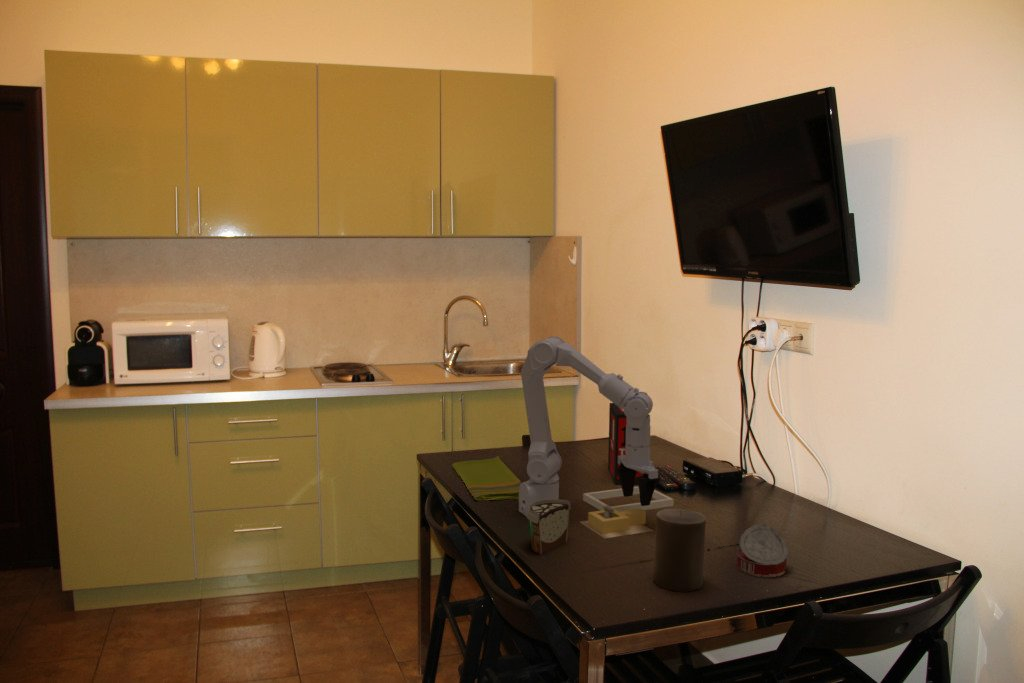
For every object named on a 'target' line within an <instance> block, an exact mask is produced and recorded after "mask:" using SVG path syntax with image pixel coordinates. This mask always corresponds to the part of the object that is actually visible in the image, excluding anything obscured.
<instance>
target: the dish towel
mask: <svg viewBox="0 0 1024 683" xmlns="http://www.w3.org/2000/svg"><path fill="white" fill-rule="evenodd" d="M451 467H452V468H453V469H455V470H454V471H455V472H456V474H457V475H458V477H459V476H460V477H461V478H460V477H459V478H460V480H461V479H462V480H463V481H462V480H461V481H462V483H463V482H464V483H465V485H466V486H465V485H464V486H465V488H466V487H467V488H466V489H467V491H468V490H469V491H468V492H469V494H470V493H471V494H470V495H471V497H472V496H473V497H472V498H473V500H503V499H517V500H519V487H520V484H521V483H523V482H522V481H521V480H520V479H519V478H518V477H517V476H516V475H515V473H514V472H512V471H511V470H510V468H508V466H507V465H506V464H505V463H504V462H503V461H502V460H501V459H500V456H499V455H497V456H495V457H493V458H486V459H477V460H476V459H475V460H464V461H462V460H461V461H458V462H453V463H452V464H451ZM464 483H463V484H464ZM503 501H504V500H503Z"/></svg>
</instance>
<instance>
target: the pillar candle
mask: <svg viewBox="0 0 1024 683" xmlns="http://www.w3.org/2000/svg"><path fill="white" fill-rule="evenodd" d="M706 521H707V518H706V516H705V515H704V514H703V513H700V512H698V511H695V510H690V509H684V508H683V509H682V508H681V509H680V508H665V509H663V510H660V511H658V512H657V513H656V525H655V543H654V544H655V547H654V565H653V580H654V583H655V584H656V585H657V586H659V587H661V588H662V589H664V590H665V589H666V590H669V591H675V592H682V593H687V592H693V591H697V590H699V589H701V588H702V587H703V585H704V568H705V567H704V564H705V548H706V547H705V546H706V545H705V544H706V540H705V539H706V524H707V523H706Z"/></svg>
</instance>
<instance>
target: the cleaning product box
mask: <svg viewBox="0 0 1024 683" xmlns="http://www.w3.org/2000/svg"><path fill="white" fill-rule="evenodd" d="M608 412H609V413H608V415H609V417H608V418H609V420H608V458H607V465H608V466H607V470H608V472H609V474H610V476H611V478H612V481H613V484H614V486H621V482H620V479H619V477H618V474H617V472H616V471H615V467H619V466H620V464H618V456H622V455H625V448H626V425H627V417H626V415H625V414H624V410H623V409H622V408H620V407H618V406H617V405H616V404H614V403H613V402H609V411H608ZM648 415H650V413H649V414H648ZM637 476H643V474H642V473H640V472H638V471H637V473H636V477H637ZM634 486H638V483H637V481H636V478H635V481H634Z"/></svg>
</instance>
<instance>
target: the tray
mask: <svg viewBox="0 0 1024 683" xmlns="http://www.w3.org/2000/svg"><path fill="white" fill-rule="evenodd" d="M633 495H640V492H639V487H638V485H636V486H634V490H633ZM633 495H632V496H633ZM619 497H625V496H624V495H623V491H622V488H617V489H609V490H600V491H591V492H585V493H583V494H582V498H583V499H582V501H583V502H586V503H587V504H589V505H590V506H592V507H594V508H596V509H597V510H598V511H601V510H604V506H609V507H610V508H612V509H615V510H617V511H626V510H633V509H642V510H644V511H649V510H655V509H661V508H669V507H674V504H675V503H674V502H675V499H674V498H672V497H671V496H668V495H665V494H664V493H662V492H660V491H658V490H656V489H655V490H654V492H653V495H652V499H655V500H651V502H650V505H647V506H641V503H640V502H635V503H628V504H621V505H620V504H619V505H614V506H610V505H608V504H606V503H605V502H602V500H604V499H612V498H619Z"/></svg>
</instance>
